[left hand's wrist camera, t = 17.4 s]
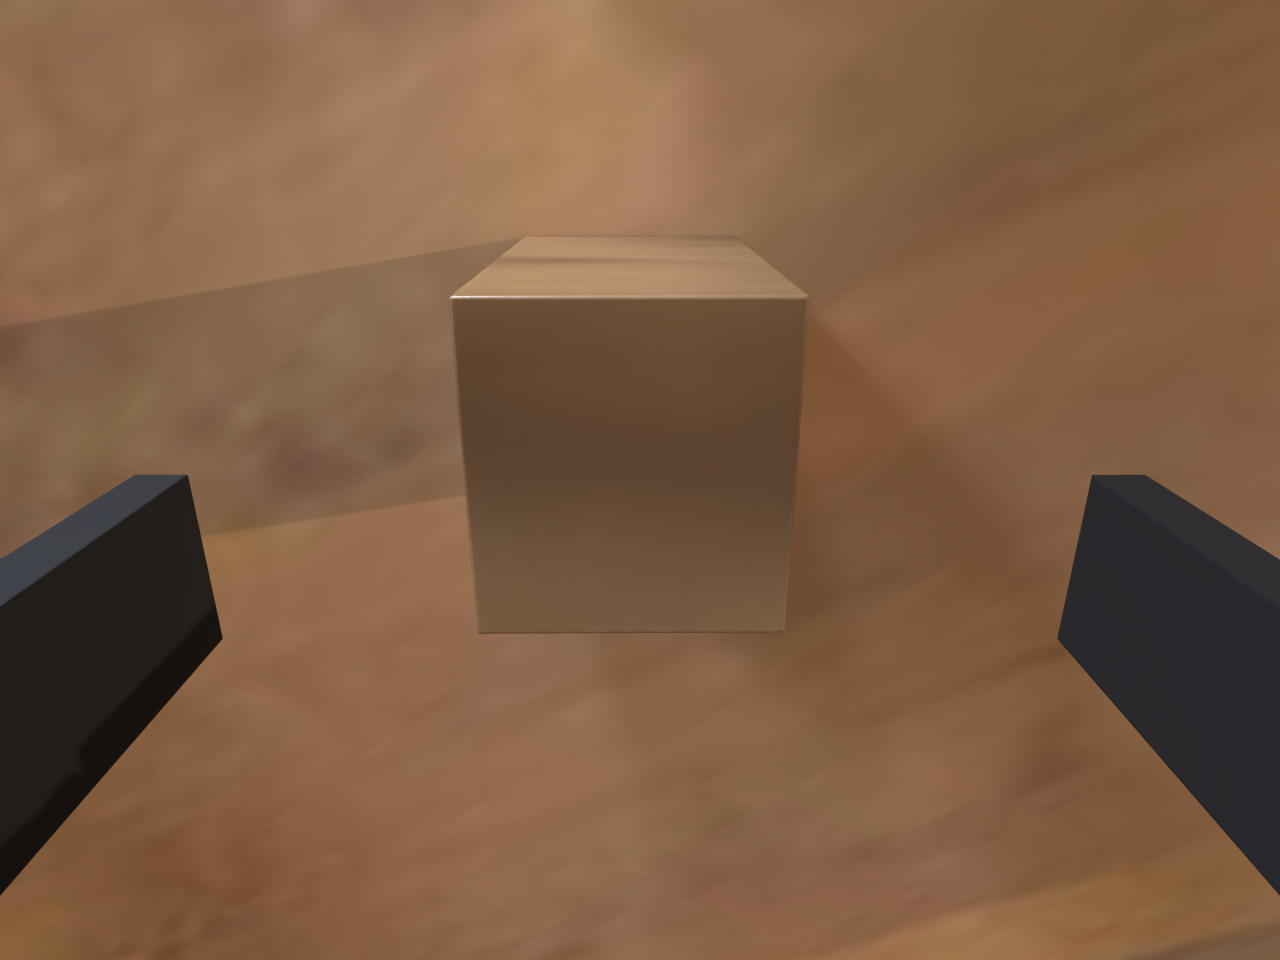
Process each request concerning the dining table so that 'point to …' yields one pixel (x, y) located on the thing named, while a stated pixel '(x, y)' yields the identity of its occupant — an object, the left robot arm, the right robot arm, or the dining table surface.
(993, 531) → the dining table surface
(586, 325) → the block
